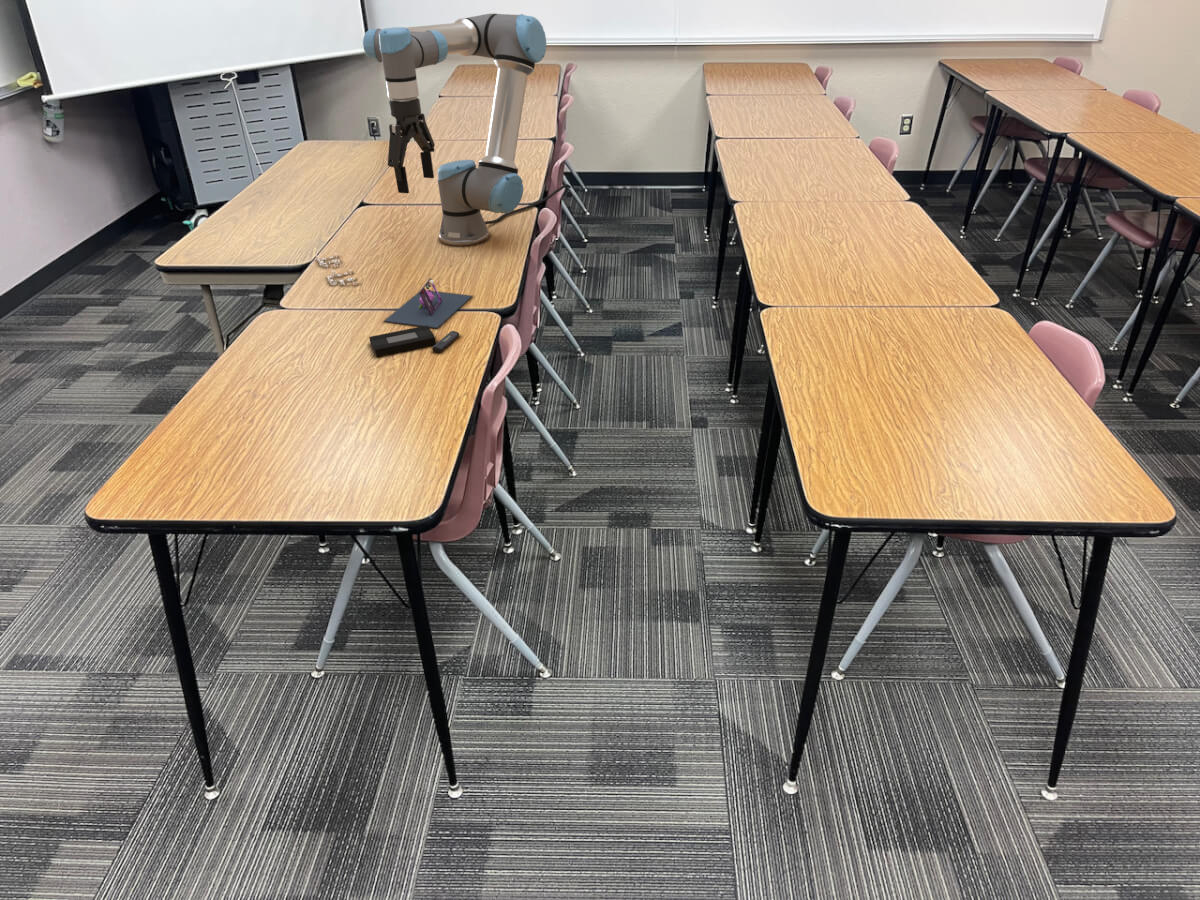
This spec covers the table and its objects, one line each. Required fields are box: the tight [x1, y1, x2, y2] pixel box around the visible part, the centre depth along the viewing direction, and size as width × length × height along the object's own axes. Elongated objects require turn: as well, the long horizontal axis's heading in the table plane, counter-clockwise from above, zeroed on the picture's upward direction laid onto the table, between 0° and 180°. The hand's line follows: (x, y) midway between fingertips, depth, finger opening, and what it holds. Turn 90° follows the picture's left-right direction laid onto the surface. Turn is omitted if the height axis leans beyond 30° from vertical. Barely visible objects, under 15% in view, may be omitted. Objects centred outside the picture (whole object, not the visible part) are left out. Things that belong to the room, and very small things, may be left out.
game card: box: [418, 278, 442, 315], centre depth 211 cm, size 7×5×9 cm
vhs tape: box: [368, 325, 437, 358], centre depth 195 cm, size 8×14×2 cm, turn 114°
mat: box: [384, 290, 473, 330], centre depth 212 cm, size 20×15×1 cm
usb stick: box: [431, 330, 460, 353], centre depth 195 cm, size 10×3×2 cm, turn 158°
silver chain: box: [315, 252, 358, 287], centre depth 234 cm, size 7×25×2 cm, turn 25°
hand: (416, 185), depth 213 cm, fingers open, 13 cm apart
